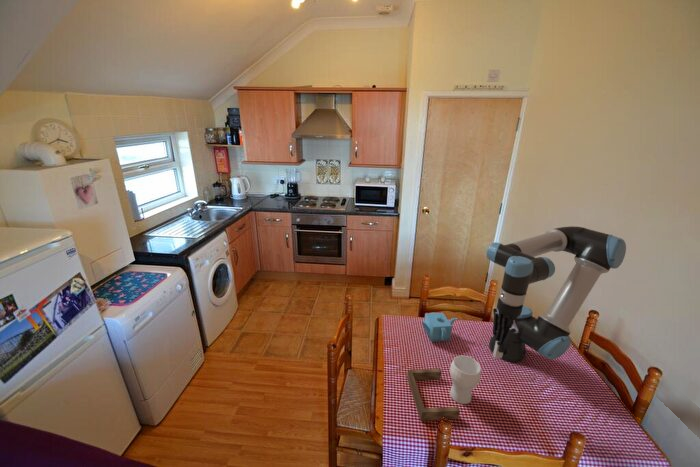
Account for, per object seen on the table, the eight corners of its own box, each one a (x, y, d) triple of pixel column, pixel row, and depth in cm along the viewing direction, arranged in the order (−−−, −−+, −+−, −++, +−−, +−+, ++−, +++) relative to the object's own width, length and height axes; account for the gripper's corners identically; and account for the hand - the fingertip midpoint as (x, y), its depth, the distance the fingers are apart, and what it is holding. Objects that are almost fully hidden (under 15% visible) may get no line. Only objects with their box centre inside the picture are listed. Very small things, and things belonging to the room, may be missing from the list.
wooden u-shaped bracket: (439, 376, 123) (440, 368, 122) (458, 419, 105) (459, 410, 104) (406, 377, 122) (407, 370, 121) (420, 420, 104) (421, 412, 103)
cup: (477, 410, 109) (485, 378, 104) (447, 404, 111) (453, 373, 106) (472, 387, 119) (479, 356, 114) (444, 382, 121) (450, 352, 116)
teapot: (414, 327, 153) (416, 308, 149) (448, 325, 155) (451, 306, 151) (425, 348, 138) (428, 328, 135) (462, 346, 140) (466, 326, 137)
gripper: (490, 291, 107) (478, 344, 115) (511, 312, 95) (496, 370, 103) (510, 290, 108) (497, 344, 116) (533, 312, 96) (517, 370, 104)
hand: (497, 356), depth 109 cm, fingers closed
